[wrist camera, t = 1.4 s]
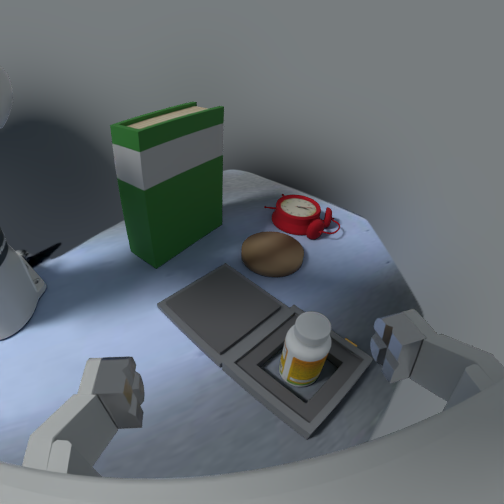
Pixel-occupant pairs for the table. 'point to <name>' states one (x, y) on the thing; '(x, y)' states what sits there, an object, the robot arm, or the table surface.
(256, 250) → the round brown pad
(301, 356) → the supplement bottle
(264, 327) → the equipment case
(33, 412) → the table surface
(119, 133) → the hardback book
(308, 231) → the alarm clock
